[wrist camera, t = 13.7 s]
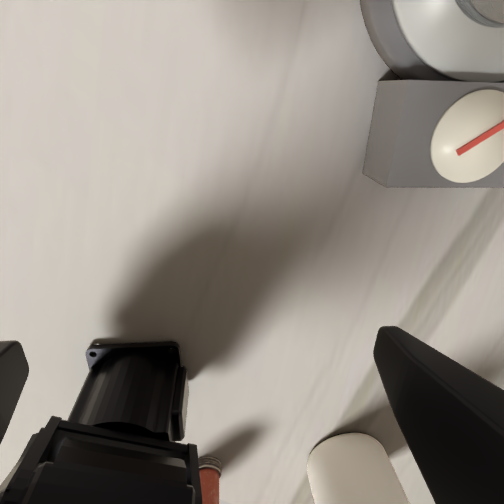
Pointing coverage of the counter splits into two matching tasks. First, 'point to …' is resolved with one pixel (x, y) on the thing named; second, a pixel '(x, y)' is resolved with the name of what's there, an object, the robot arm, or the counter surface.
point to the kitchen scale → (436, 97)
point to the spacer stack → (484, 11)
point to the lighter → (209, 479)
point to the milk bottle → (353, 472)
